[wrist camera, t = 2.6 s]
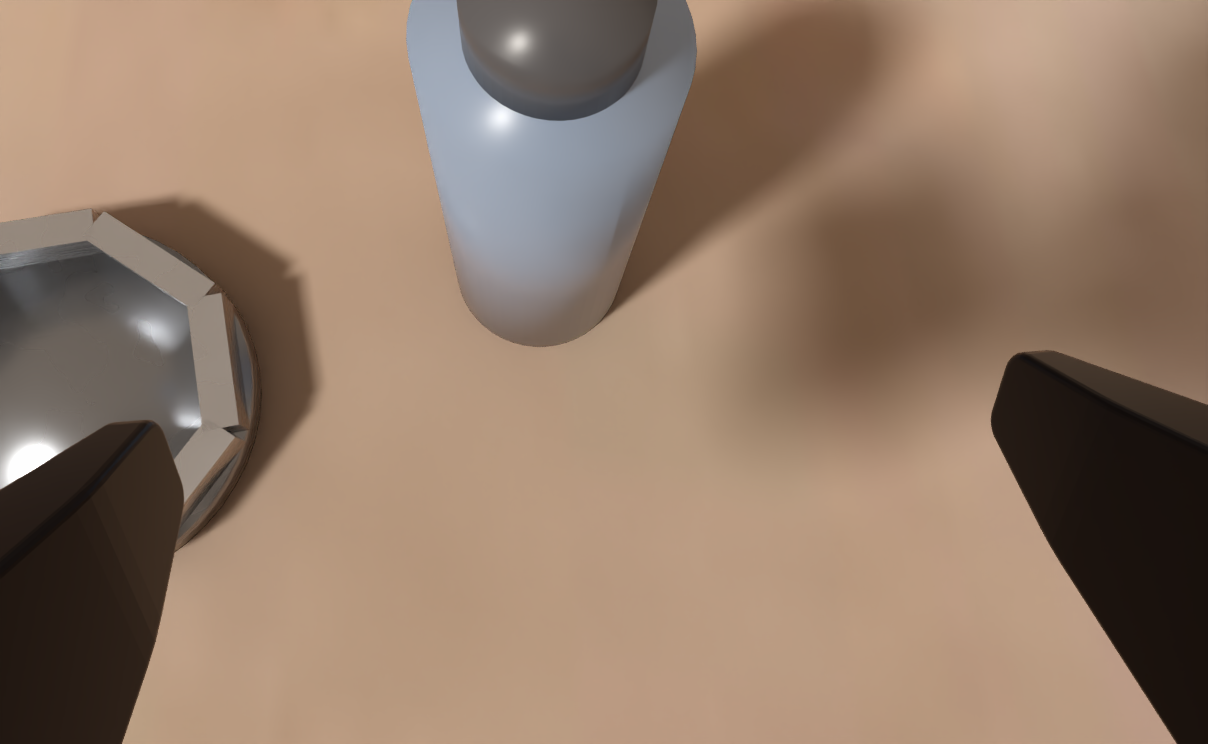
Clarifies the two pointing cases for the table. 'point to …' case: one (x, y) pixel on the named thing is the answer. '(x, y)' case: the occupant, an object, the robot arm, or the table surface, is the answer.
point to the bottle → (547, 146)
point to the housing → (121, 353)
